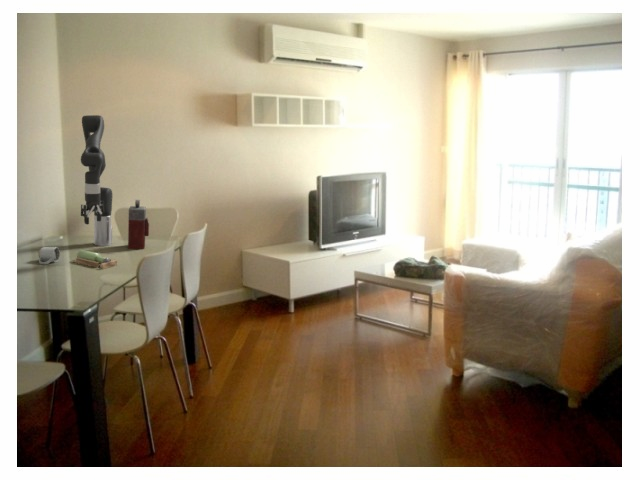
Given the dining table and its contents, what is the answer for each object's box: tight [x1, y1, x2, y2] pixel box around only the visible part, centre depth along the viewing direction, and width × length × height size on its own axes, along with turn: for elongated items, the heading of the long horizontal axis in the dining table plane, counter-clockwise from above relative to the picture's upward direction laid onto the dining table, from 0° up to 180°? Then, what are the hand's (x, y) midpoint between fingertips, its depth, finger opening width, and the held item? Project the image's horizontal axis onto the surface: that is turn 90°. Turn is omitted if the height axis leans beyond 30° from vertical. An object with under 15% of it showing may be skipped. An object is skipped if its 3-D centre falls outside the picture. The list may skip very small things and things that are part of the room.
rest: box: [75, 257, 118, 270], centre depth 310 cm, size 10×18×2 cm, turn 65°
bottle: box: [76, 249, 111, 264], centre depth 311 cm, size 6×6×18 cm
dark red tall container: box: [127, 199, 150, 250], centre depth 348 cm, size 9×11×28 cm
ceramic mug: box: [38, 246, 61, 265], centre depth 306 cm, size 11×8×8 cm
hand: (93, 222), depth 312 cm, fingers open, 8 cm apart
